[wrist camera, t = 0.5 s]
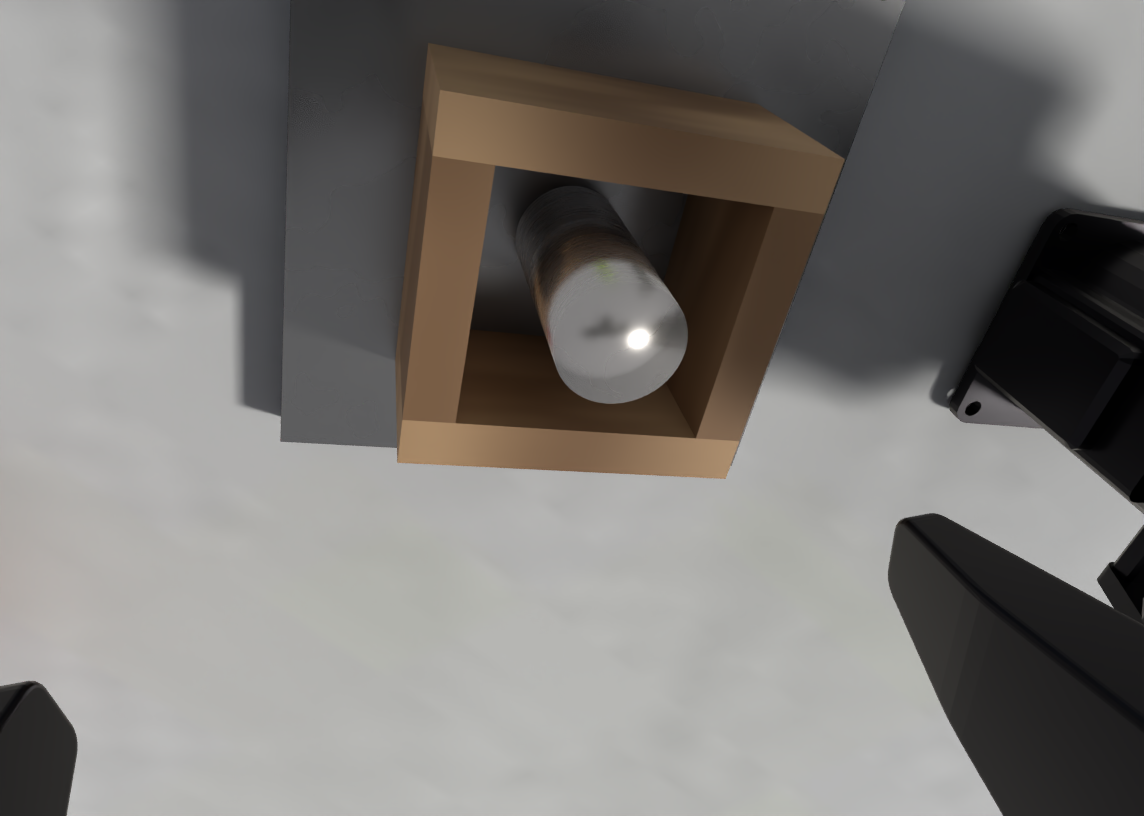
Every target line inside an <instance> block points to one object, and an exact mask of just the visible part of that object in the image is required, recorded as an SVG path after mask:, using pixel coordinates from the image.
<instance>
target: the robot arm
mask: <svg viewBox="0 0 1144 816" xmlns="http://www.w3.org/2000/svg"><path fill="white" fill-rule="evenodd" d="M1065 225H1066V228H1065V229H1064V231H1063V232H1062V233H1060V231H1061V229H1062V228H1063V227H1064V226H1065ZM970 403H971V404H970ZM969 404H970V406H968V405H969ZM949 406H950V411H951V412H952V413H953V414H954V415H955V416H956V417H957V418H958V419H959V420H960V421H962V422H965V423H976V424H990V425H1003V426H1016V427H1029V428H1042V429H1045V430H1046V431H1047V432H1048V433H1049V434H1050V435H1052V436H1053V437H1054V438H1055V439H1056V440H1058V441H1059V442H1060V443H1061V444H1062V445H1063V446H1065V447H1066V448H1067V449H1068V450H1069V451H1070V452H1072V453H1073V454H1074V455H1075V456H1076V457H1077V458H1079V459H1080V460H1081V461H1082V462H1083V463H1084V464H1086V465H1087V466H1088V467H1089V468H1090V469H1092V470H1093V471H1094V472H1095V473H1096V474H1097V475H1099V476H1100V477H1101V478H1102V479H1103V480H1104V481H1106V482H1107V483H1108V484H1109V485H1110V486H1111V487H1113V488H1114V489H1115V490H1116V491H1117V492H1118V493H1120V494H1121V495H1122V496H1123V497H1124V498H1126V499H1127V500H1128V501H1129V502H1130V503H1131V504H1133V505H1134V506H1135V507H1136V508H1137V509H1138V510H1140V511H1141V512H1142V513H1143V514H1144V221H1140V220H1134V219H1128V218H1122V217H1116V216H1110V215H1104V214H1098V213H1092V212H1086V211H1080V210H1074V209H1068V208H1066V209H1059V210H1057V211H1055V212H1053V213H1052V214H1051V215H1050V216H1049V217H1047V219H1046V220H1045V222H1044V223H1043V224H1042V226H1041V228H1040V230H1039V232H1038V234H1037V236H1036V238H1035V240H1034V242H1033V244H1032V246H1031V248H1030V249H1029V251H1028V253H1027V255H1026V257H1025V259H1024V261H1023V263H1022V265H1021V267H1020V269H1019V271H1018V273H1017V275H1016V276H1015V278H1014V280H1013V282H1012V284H1011V286H1010V288H1009V290H1008V292H1007V294H1006V296H1005V298H1004V300H1003V301H1002V303H1001V305H1000V307H999V309H998V311H997V313H996V315H995V317H994V319H993V321H992V323H991V325H990V326H989V328H988V330H987V332H986V334H985V336H984V338H983V340H982V342H981V344H980V346H979V348H978V350H977V351H976V353H975V355H974V357H973V359H972V361H971V363H970V365H969V367H968V369H967V371H966V373H965V375H964V376H963V378H962V380H961V382H960V384H959V386H958V388H957V390H956V392H955V394H954V396H953V398H952V400H951V402H950V405H949ZM967 406H968V407H967ZM888 581H889V587H890V590H891V593H892V596H893V598H894V600H895V602H896V605H897V607H898V609H899V611H900V614H901V616H902V618H903V620H904V623H905V625H906V627H907V629H908V632H909V634H910V636H911V638H912V641H913V643H914V645H915V647H916V650H917V652H918V654H919V656H920V659H921V661H922V663H923V665H924V668H925V670H926V672H927V674H928V677H929V679H930V681H931V683H932V686H933V688H934V690H935V692H936V695H937V697H938V699H939V701H940V703H941V705H942V708H943V710H944V712H945V714H946V716H947V718H948V720H949V722H950V724H951V726H952V727H953V729H954V731H955V733H956V735H957V737H958V738H959V740H960V742H961V744H962V745H963V747H964V749H965V751H966V752H967V754H968V756H969V758H970V759H971V761H972V763H973V764H974V766H975V768H976V770H977V771H978V773H979V775H980V777H981V778H982V780H983V782H984V783H985V785H986V787H987V789H988V790H989V792H990V794H991V796H992V797H993V799H994V801H995V802H996V804H997V806H998V808H999V809H1000V811H1001V813H1002V815H1003V816H1144V525H1143V526H1142V528H1141V529H1140V530H1139V531H1138V533H1137V534H1136V535H1135V537H1134V538H1133V539H1132V541H1131V542H1130V543H1129V545H1128V546H1127V547H1126V548H1125V550H1124V551H1123V552H1122V554H1121V555H1120V556H1119V558H1118V559H1117V560H1116V561H1115V562H1111V563H1109V564H1108V565H1107V566H1106V568H1105V569H1104V570H1103V572H1102V573H1101V574H1100V576H1099V577H1098V578H1097V581H1098V583H1099V585H1100V586H1101V588H1102V589H1103V591H1104V593H1105V594H1106V596H1107V598H1108V599H1109V601H1110V603H1111V604H1112V606H1113V607H1114V608H1112V607H1110V606H1108V605H1106V604H1105V603H1103V602H1101V601H1099V600H1097V599H1095V598H1094V597H1092V596H1090V595H1088V594H1086V593H1084V592H1083V591H1081V590H1079V589H1077V588H1075V587H1073V586H1071V585H1070V584H1068V583H1066V582H1064V581H1062V580H1060V579H1059V578H1057V577H1055V576H1053V575H1051V574H1049V573H1048V572H1046V571H1044V570H1042V569H1040V568H1038V567H1036V566H1035V565H1033V564H1031V563H1029V562H1027V561H1025V560H1024V559H1022V558H1020V557H1018V556H1016V555H1014V554H1013V553H1011V552H1009V551H1007V550H1005V549H1003V548H1001V547H1000V546H998V545H996V544H994V543H992V542H990V541H989V540H987V539H985V538H983V537H981V536H979V535H978V534H976V533H974V532H972V531H970V530H968V529H966V528H965V527H963V526H961V525H959V524H957V523H955V522H954V521H952V520H950V519H948V518H946V517H944V516H942V515H939V514H935V513H930V514H924V515H919V516H913V517H908V518H904V519H902V520H900V521H899V522H898V524H897V525H896V528H895V532H894V538H893V544H892V550H891V556H890V562H889V568H888ZM76 757H77V737H76V733H75V730H74V728H73V726H72V724H71V723H70V722H69V720H68V719H67V717H66V716H65V715H64V713H63V712H62V710H61V709H60V708H59V706H58V705H57V703H56V702H55V701H54V699H53V698H52V697H51V695H50V694H49V692H48V691H47V690H46V688H45V687H44V686H43V685H42V684H40V683H38V682H36V681H26V682H21V683H15V684H10V685H4V686H0V816H66V815H67V810H68V804H69V798H70V792H71V786H72V780H73V774H74V769H75V763H76Z"/></svg>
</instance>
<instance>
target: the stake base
mask: <svg viewBox="0 0 1144 816" xmlns="http://www.w3.org/2000/svg"><path fill="white" fill-rule="evenodd" d="M905 2H906V0H291V5H290V49H289V93H288V136H287V180H286V224H285V268H284V311H283V355H282V399H281V442H299V443H318V444H336V445H355V446H374V447H392V448H397V420H396V376H395V357H396V348H397V338H398V328H399V319H400V309H401V300H402V290H403V280H404V271H405V261H406V252H407V242H408V232H409V223H410V213H411V204H412V194H413V184H414V175H415V165H416V156H417V146H418V136H419V127H420V117H421V107H422V98H423V88H424V79H425V69H426V59H427V50H428V43H432V44H437V45H443V46H448V47H453V48H459V49H464V50H469V51H475V52H480V53H486V54H491V55H496V56H502V57H507V58H512V59H518V60H523V61H529V62H534V63H539V64H545V65H550V66H556V67H561V68H566V69H572V70H577V71H582V72H588V73H593V74H599V75H604V76H609V77H615V78H620V79H625V80H631V81H636V82H642V83H647V84H652V85H658V86H663V87H669V88H674V89H679V90H685V91H690V92H695V93H701V94H706V95H712V96H717V97H722V98H728V99H733V100H738V101H744V102H749V103H755V104H759V105H760V106H762V107H764V108H765V109H767V110H768V111H770V112H771V113H773V114H775V115H776V116H778V117H779V118H781V119H782V120H784V121H786V122H787V123H789V124H790V125H792V126H794V127H795V128H797V129H798V130H800V131H801V132H803V133H805V134H806V135H808V136H809V137H811V138H812V139H814V140H816V141H817V142H819V143H820V144H822V145H823V146H825V147H827V148H828V149H830V150H831V151H833V152H834V153H836V154H838V155H839V156H841V157H842V158H844V159H845V161H844V163H843V166H842V169H841V171H840V174H839V177H838V179H837V182H836V185H835V187H834V190H833V193H832V195H831V198H830V201H829V203H828V206H827V209H826V211H825V214H824V217H823V219H822V222H821V225H820V227H819V230H818V233H817V235H816V238H815V241H814V243H813V246H812V249H811V252H812V250H813V247H814V244H815V242H816V239H817V236H818V234H819V231H820V228H821V226H822V223H823V220H824V218H825V215H826V212H827V210H828V207H829V204H830V202H831V199H832V196H833V194H834V191H835V188H836V186H837V183H838V180H839V178H840V175H841V172H842V170H843V167H844V164H845V162H846V159H847V156H848V154H849V151H850V148H851V146H852V143H853V140H854V138H855V135H856V132H857V130H858V127H859V124H860V122H861V119H862V116H863V114H864V111H865V108H866V106H867V103H868V100H869V98H870V95H871V92H872V90H873V87H874V84H875V82H876V79H877V76H878V74H879V71H880V68H881V66H882V63H883V60H884V58H885V55H886V52H887V50H888V47H889V44H890V42H891V39H892V36H893V34H894V31H895V28H896V26H897V23H898V20H899V18H900V15H901V12H902V10H903V7H904V4H905ZM687 196H688V194H684V193H678V192H671V191H664V190H658V189H651V188H644V187H638V186H631V185H624V184H617V183H611V182H604V181H597V180H591V179H584V178H577V177H571V176H564V175H557V174H551V173H544V172H537V171H530V170H524V169H517V168H510V167H504V166H497V165H495V171H494V177H493V184H492V190H491V197H490V203H489V210H488V216H487V223H486V229H485V235H484V242H483V248H482V255H481V261H480V268H479V274H478V281H477V287H476V294H475V300H474V307H473V313H472V320H471V326H470V329H472V330H482V331H493V332H504V333H514V334H525V335H535V336H546V339H547V342H548V345H549V348H550V351H551V354H552V357H553V360H554V363H555V365H556V368H557V371H558V373H559V375H560V377H561V379H562V380H563V381H564V383H565V384H566V385H567V386H568V387H569V388H570V389H571V390H572V391H574V392H575V393H576V394H578V395H580V396H581V397H583V398H586V399H588V400H591V401H594V402H598V403H606V404H616V403H625V402H629V401H633V400H636V399H639V398H642V397H644V396H646V395H648V394H650V393H651V392H653V391H655V390H656V389H658V388H659V387H660V386H662V385H663V384H664V383H665V382H666V381H667V380H668V379H669V378H670V377H671V376H672V375H673V374H674V372H675V371H676V369H677V368H678V366H679V365H680V363H681V361H682V359H683V356H684V354H685V351H686V347H687V340H688V328H687V323H686V319H685V316H684V313H683V312H682V310H681V308H680V306H679V305H678V303H677V302H676V300H675V299H674V297H673V296H672V294H671V293H670V291H669V290H668V288H667V287H666V285H665V284H664V278H665V275H666V271H667V267H668V264H669V260H670V257H671V253H672V250H673V246H674V243H675V239H676V236H677V232H678V228H679V225H680V221H681V218H682V214H683V211H684V207H685V204H686V200H687ZM811 252H810V254H809V257H808V260H809V258H810V255H811ZM808 260H807V262H806V265H805V268H806V266H807V263H808ZM805 268H804V270H803V273H802V276H803V274H804V271H805ZM802 276H801V278H800V281H799V284H800V282H801V279H802ZM799 284H798V286H797V289H796V292H797V290H798V287H799ZM796 292H795V294H794V297H793V300H794V298H795V295H796ZM793 300H792V302H791V305H790V308H791V306H792V303H793ZM790 308H789V310H788V313H787V316H788V314H789V311H790ZM787 316H786V318H785V321H784V324H785V322H786V319H787ZM784 324H783V326H782V329H781V332H782V330H783V327H784ZM781 332H780V334H779V337H778V340H779V338H780V335H781ZM778 340H777V342H776V345H775V348H776V346H777V343H778ZM775 348H774V350H773V353H772V356H773V354H774V351H775ZM772 356H771V358H770V361H769V364H770V362H771V359H772ZM769 364H768V366H767V369H766V372H767V370H768V367H769ZM766 372H765V374H764V377H763V380H764V378H765V375H766ZM763 380H762V382H761V385H760V388H761V386H762V383H763ZM760 388H759V390H758V393H757V396H758V394H759V391H760ZM757 396H756V399H757ZM756 399H755V401H754V404H755V402H756ZM754 404H753V407H754ZM753 407H752V409H751V412H752V410H753ZM751 412H750V415H751ZM750 415H749V417H748V420H749V418H750ZM748 420H747V423H748ZM747 423H746V425H745V428H746V426H747ZM745 428H744V431H745ZM744 431H743V433H742V436H743V434H744ZM742 436H741V439H742ZM741 439H740V441H739V444H740V442H741ZM739 444H738V447H739ZM738 447H737V449H736V452H737V450H738ZM736 452H735V455H736ZM735 455H734V457H733V460H734V458H735ZM733 460H732V463H733ZM732 463H731V465H730V466H732Z"/></svg>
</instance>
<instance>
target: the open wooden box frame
mask: <svg viewBox="0 0 1144 816" xmlns="http://www.w3.org/2000/svg"><path fill="white" fill-rule="evenodd" d="M844 161H845V159H844V158H842V157H841V156H839V155H838V154H836V153H834V152H833V151H831V150H830V149H828V148H827V147H825V146H823V145H822V144H820V143H819V142H817V141H816V140H814V139H812V138H811V137H809V136H808V135H806V134H805V133H803V132H801V131H800V130H798V129H797V128H795V127H794V126H792V125H790V124H789V123H787V122H786V121H784V120H782V119H781V118H779V117H778V116H776V115H775V114H773V113H771V112H770V111H768V110H767V109H765V108H764V107H762V106H760V105H759V104H755V103H749V102H744V101H738V100H733V99H728V98H722V97H717V96H712V95H706V94H701V93H695V92H690V91H685V90H679V89H674V88H669V87H663V86H658V85H652V84H647V83H642V82H636V81H631V80H625V79H620V78H615V77H609V76H604V75H599V74H593V73H588V72H582V71H577V70H572V69H566V68H561V67H556V66H550V65H545V64H539V63H534V62H529V61H523V60H518V59H512V58H507V57H502V56H496V55H491V54H486V53H480V52H475V51H469V50H464V49H459V48H453V47H448V46H443V45H437V44H432V43H428V50H427V59H426V69H425V79H424V88H423V98H422V107H421V117H420V127H419V136H418V146H417V156H416V165H415V175H414V184H413V194H412V204H411V213H410V223H409V232H408V242H407V252H406V261H405V271H404V280H403V290H402V300H401V309H400V319H399V328H398V338H397V348H396V357H395V376H396V420H397V463H415V464H436V465H456V466H476V467H497V468H517V469H537V470H558V471H578V472H598V473H619V474H639V475H659V476H680V477H700V478H720V479H726V476H727V473H728V471H729V468H730V465H731V463H732V460H733V457H734V455H735V452H736V449H737V447H738V444H739V441H740V439H741V436H742V433H743V431H744V428H745V425H746V423H747V420H748V417H749V415H750V412H751V409H752V407H753V404H754V401H755V399H756V396H757V393H758V390H759V388H760V385H761V382H762V380H763V377H764V374H765V372H766V369H767V366H768V364H769V361H770V358H771V356H772V353H773V350H774V348H775V345H776V342H777V340H778V337H779V334H780V332H781V329H782V326H783V324H784V321H785V318H786V316H787V313H788V310H789V308H790V305H791V302H792V300H793V297H794V294H795V292H796V289H797V286H798V284H799V281H800V278H801V276H802V273H803V270H804V268H805V265H806V262H807V260H808V257H809V254H810V252H811V249H812V246H813V243H814V241H815V238H816V235H817V233H818V230H819V227H820V225H821V222H822V219H823V217H824V214H825V211H826V209H827V206H828V203H829V201H830V198H831V195H832V193H833V190H834V187H835V185H836V182H837V179H838V177H839V174H840V171H841V169H842V166H843V163H844ZM495 165H497V166H504V167H510V168H517V169H524V170H530V171H537V172H544V173H551V174H557V175H564V176H571V177H577V178H584V179H591V180H597V181H604V182H611V183H617V184H624V185H631V186H638V187H644V188H651V189H658V190H664V191H671V192H678V193H684V194H688V196H687V200H686V204H685V207H684V211H683V214H682V218H681V221H680V225H679V228H678V232H677V236H676V239H675V243H674V246H673V250H672V253H671V257H670V260H669V264H668V267H667V271H666V275H665V278H664V284H665V285H666V287H667V288H668V290H669V291H670V293H671V294H672V296H673V297H674V299H675V300H676V302H677V303H678V305H679V306H680V308H681V310H682V312H683V313H684V316H685V319H686V323H687V328H688V340H687V347H686V351H685V354H684V356H683V359H682V361H681V363H680V365H679V366H678V368H677V369H676V371H675V372H674V374H673V375H672V376H671V377H670V378H669V379H668V380H667V381H666V382H665V383H664V384H663V385H662V386H660V387H659V388H658V389H656V390H655V391H653V392H651V393H650V394H648V395H646V396H644V397H642V398H639V399H636V400H633V401H629V402H625V403H616V404H606V403H598V402H594V401H591V400H588V399H586V398H583V397H581V396H580V395H578V394H576V393H575V392H574V391H572V390H571V389H570V388H569V387H568V386H567V385H566V384H565V383H564V381H563V380H562V379H561V377H560V375H559V373H558V371H557V368H556V365H555V363H554V360H553V357H552V354H551V351H550V348H549V345H548V342H547V339H546V336H535V335H525V334H514V333H504V332H493V331H482V330H472V329H470V326H471V320H472V313H473V307H474V300H475V294H476V287H477V281H478V274H479V268H480V261H481V255H482V248H483V242H484V235H485V229H486V223H487V216H488V210H489V203H490V197H491V190H492V184H493V177H494V171H495Z"/></svg>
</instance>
